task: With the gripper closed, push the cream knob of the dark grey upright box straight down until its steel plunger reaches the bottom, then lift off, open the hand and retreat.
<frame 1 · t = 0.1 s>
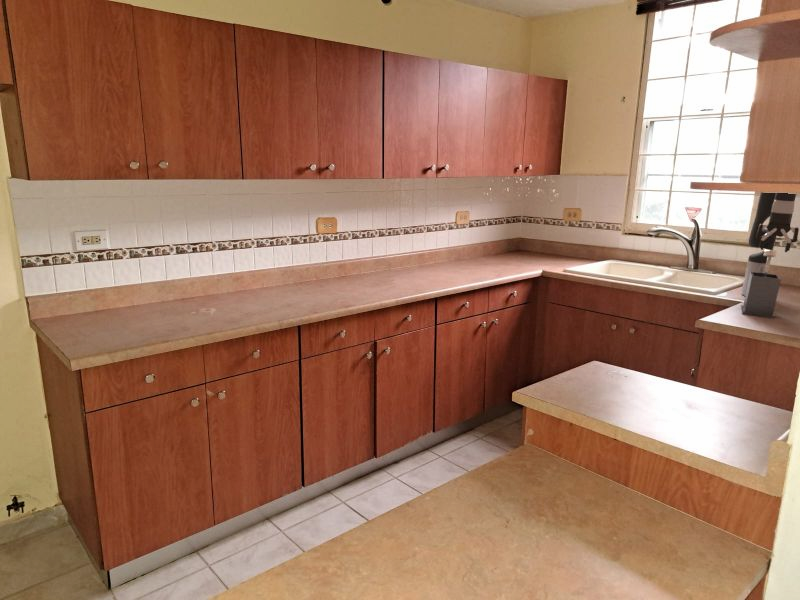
hand: (773, 250, 240), 29 cm above the countertop, tool pointing down, fingers open, 8 cm apart
dark grey upright box: (757, 313, 256), on the countertop
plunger: (766, 269, 251), point 20 cm above the countertop, slide at 0.0 cm
squeeze bottle: (753, 303, 273), on the countertop
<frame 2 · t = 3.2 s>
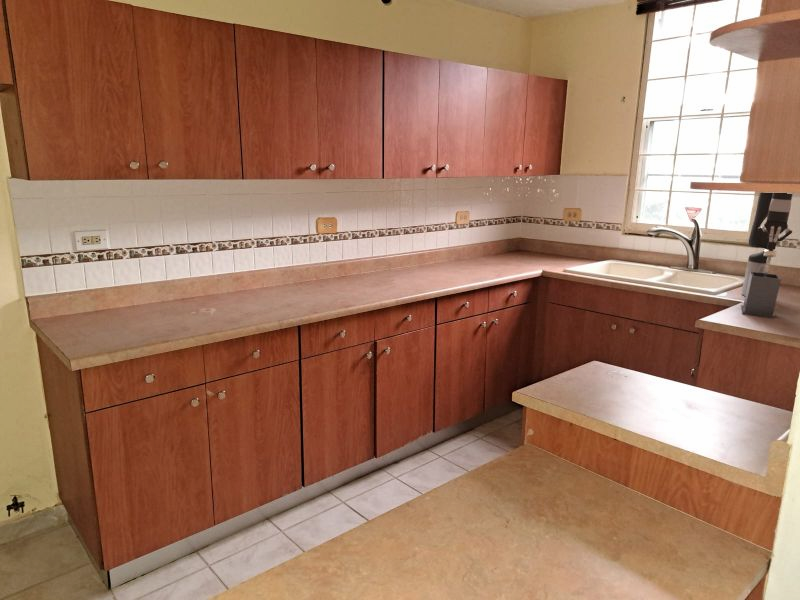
hand: (770, 250, 249), 28 cm above the countertop, tool pointing down, fingers closed
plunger: (766, 269, 251), point 20 cm above the countertop, slide at 0.0 cm, touching gripper
everything else where it was.
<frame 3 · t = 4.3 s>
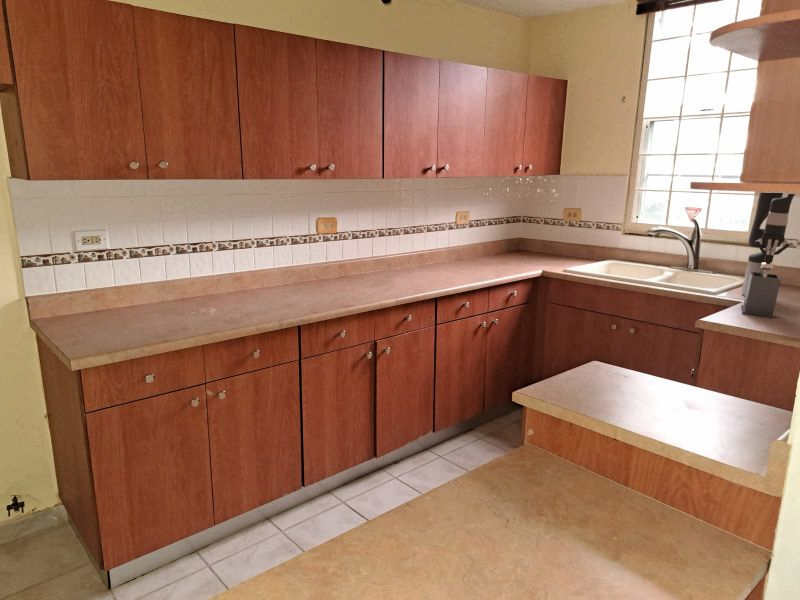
hand: (767, 263, 250), 23 cm above the countertop, tool pointing down, fingers closed
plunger: (763, 282, 252), point 14 cm above the countertop, slide at 5.7 cm, touching gripper
everything else where it was.
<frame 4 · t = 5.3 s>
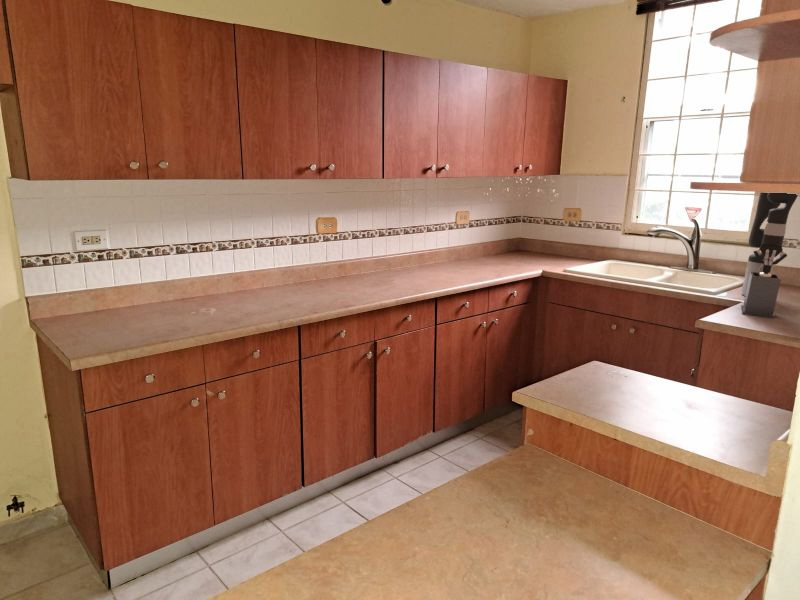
hand: (765, 273, 251), 18 cm above the countertop, tool pointing down, fingers closed
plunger: (761, 291, 253), point 10 cm above the countertop, slide at 10.1 cm, touching gripper
everything else where it was.
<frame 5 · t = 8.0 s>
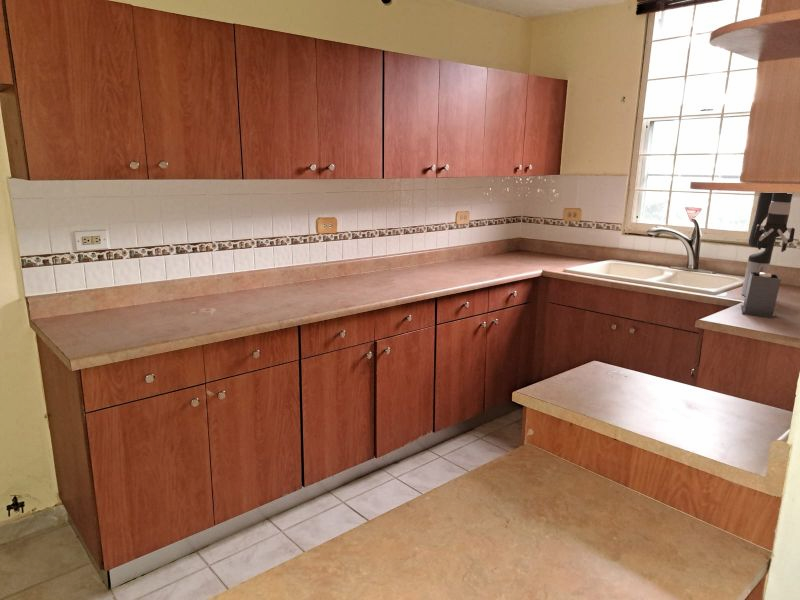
hand: (770, 250, 248), 28 cm above the countertop, tool pointing down, fingers open, 8 cm apart
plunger: (761, 291, 253), point 10 cm above the countertop, slide at 10.1 cm
everything else where it was.
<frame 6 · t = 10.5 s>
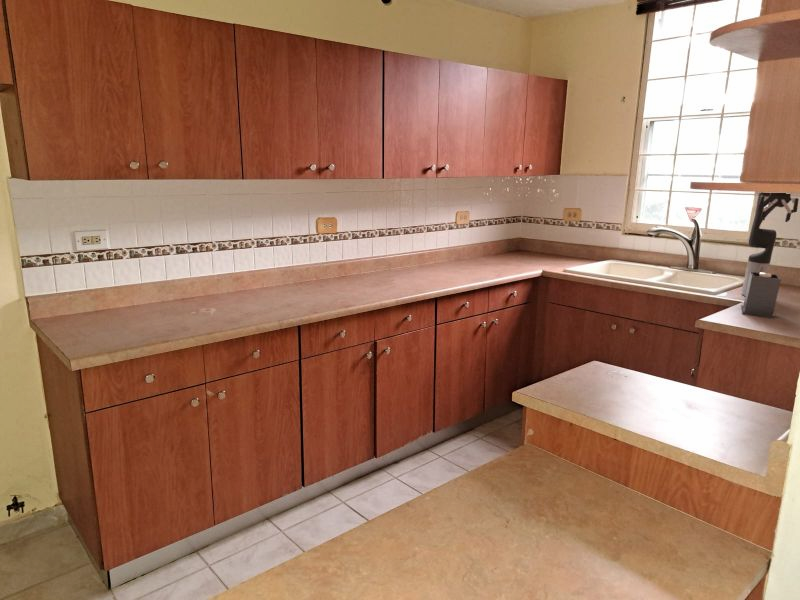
hand: (774, 220, 252), 40 cm above the countertop, tool pointing down, fingers open, 8 cm apart
nothing on the countertop moved.
at the end: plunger slide at 10.1 cm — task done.
